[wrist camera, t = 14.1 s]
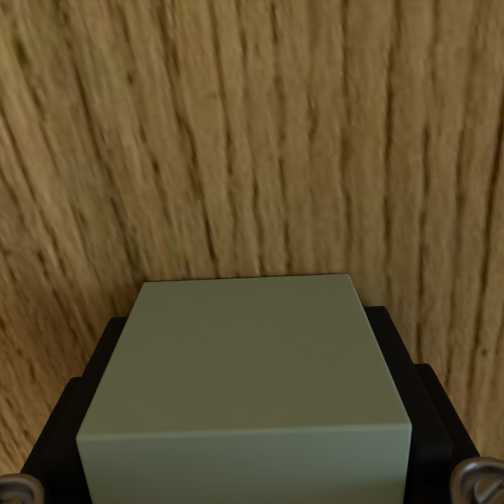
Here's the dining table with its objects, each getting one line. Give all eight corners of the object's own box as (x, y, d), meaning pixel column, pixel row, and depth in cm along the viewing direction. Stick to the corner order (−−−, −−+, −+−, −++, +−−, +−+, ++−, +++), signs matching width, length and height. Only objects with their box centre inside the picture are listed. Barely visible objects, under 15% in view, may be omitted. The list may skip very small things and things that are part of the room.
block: (349, 272, 10) (414, 425, 6) (343, 430, 12) (390, 629, 8) (142, 280, 10) (72, 438, 6) (167, 436, 12) (125, 637, 8)
